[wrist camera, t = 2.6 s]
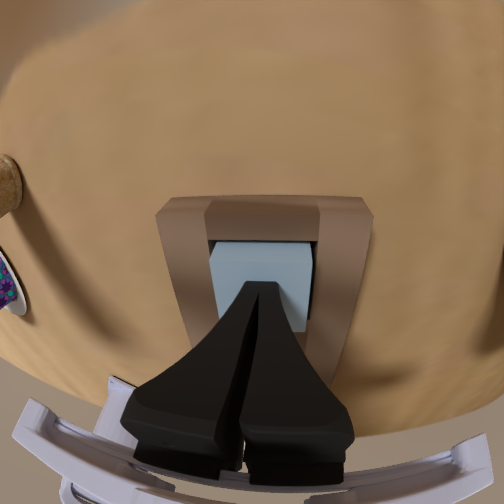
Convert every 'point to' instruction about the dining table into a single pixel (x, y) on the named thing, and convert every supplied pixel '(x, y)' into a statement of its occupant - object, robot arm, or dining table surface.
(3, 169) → the sprinkles bottle
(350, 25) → the dining table surface
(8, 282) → the purple domed brimmed piece
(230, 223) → the board
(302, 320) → the blue key
